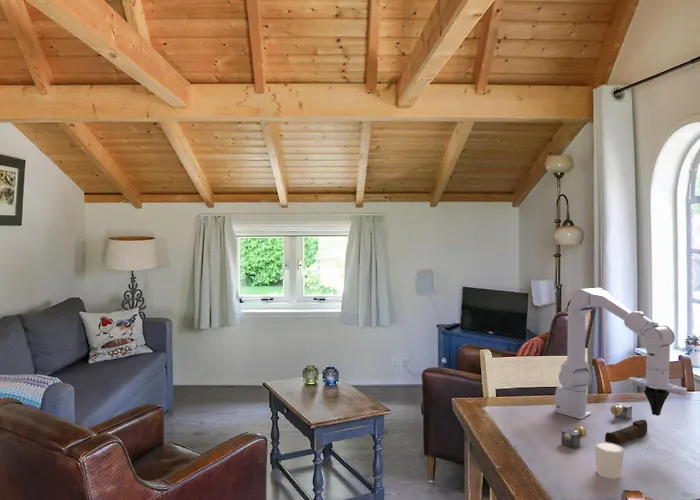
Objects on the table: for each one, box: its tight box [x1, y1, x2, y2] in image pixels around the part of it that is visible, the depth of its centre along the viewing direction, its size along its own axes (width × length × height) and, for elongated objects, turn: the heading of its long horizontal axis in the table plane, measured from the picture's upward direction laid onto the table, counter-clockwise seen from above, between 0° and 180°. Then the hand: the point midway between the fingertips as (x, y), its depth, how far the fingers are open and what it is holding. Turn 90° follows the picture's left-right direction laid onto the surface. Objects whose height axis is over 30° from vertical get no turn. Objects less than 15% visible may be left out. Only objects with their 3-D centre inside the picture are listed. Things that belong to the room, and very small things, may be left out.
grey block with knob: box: [609, 402, 633, 420], centre depth 172 cm, size 7×4×5 cm, turn 122°
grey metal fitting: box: [561, 426, 587, 450], centre depth 151 cm, size 7×4×5 cm, turn 122°
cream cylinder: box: [594, 441, 625, 480], centre depth 133 cm, size 7×7×7 cm
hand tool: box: [604, 419, 648, 446], centre depth 155 cm, size 19×4×5 cm, turn 119°
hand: (656, 414), depth 149 cm, fingers closed
